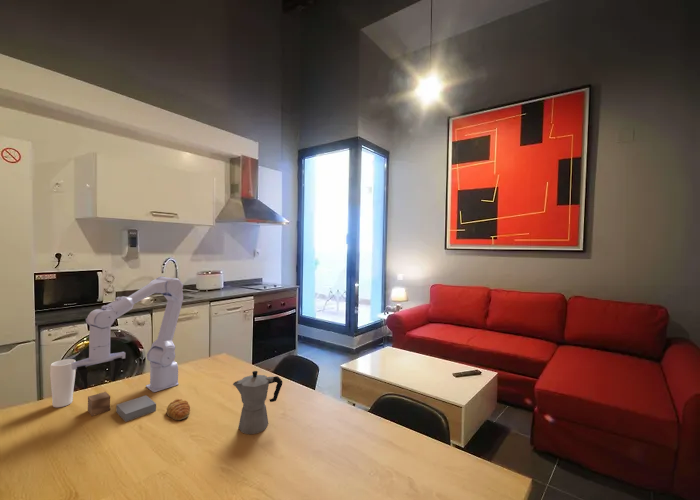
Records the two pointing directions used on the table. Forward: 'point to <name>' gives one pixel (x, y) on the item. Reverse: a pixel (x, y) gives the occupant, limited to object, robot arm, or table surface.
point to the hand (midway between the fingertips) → (99, 384)
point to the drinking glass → (62, 382)
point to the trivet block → (135, 408)
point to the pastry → (178, 409)
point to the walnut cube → (98, 403)
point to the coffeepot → (255, 401)
